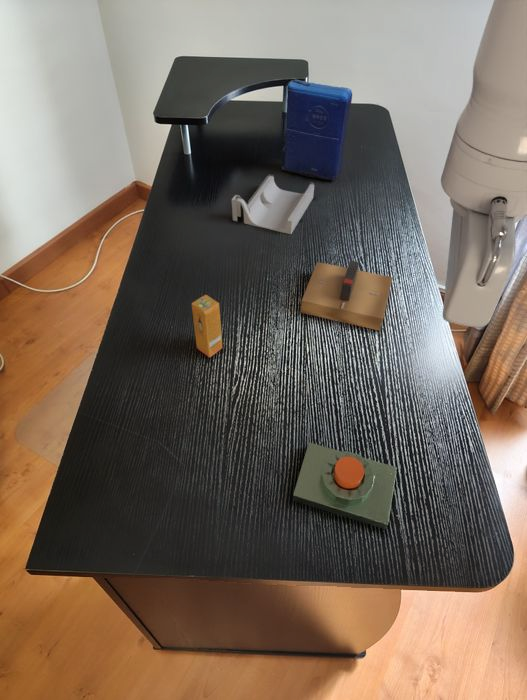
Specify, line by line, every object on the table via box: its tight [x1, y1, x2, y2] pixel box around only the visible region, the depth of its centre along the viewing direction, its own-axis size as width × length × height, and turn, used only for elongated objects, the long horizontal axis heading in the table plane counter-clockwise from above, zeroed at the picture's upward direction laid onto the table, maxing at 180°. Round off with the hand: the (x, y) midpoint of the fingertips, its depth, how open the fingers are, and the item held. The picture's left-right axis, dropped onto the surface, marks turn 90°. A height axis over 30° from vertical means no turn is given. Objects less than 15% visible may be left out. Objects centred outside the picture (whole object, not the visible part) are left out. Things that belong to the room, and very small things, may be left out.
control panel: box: [300, 261, 393, 331], centre depth 85 cm, size 14×11×3 cm
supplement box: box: [191, 294, 224, 358], centre depth 75 cm, size 3×3×10 cm
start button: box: [333, 457, 364, 489], centre depth 60 cm, size 4×4×2 cm
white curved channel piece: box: [231, 175, 315, 235], centre depth 103 cm, size 15×13×5 cm
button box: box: [292, 442, 398, 530], centre depth 62 cm, size 12×8×4 cm, turn 72°
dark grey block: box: [340, 260, 360, 301], centre depth 82 cm, size 6×2×4 cm, turn 161°
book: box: [281, 79, 353, 181], centre depth 107 cm, size 14×5×20 cm, turn 67°
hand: (452, 294), depth 50 cm, fingers closed
